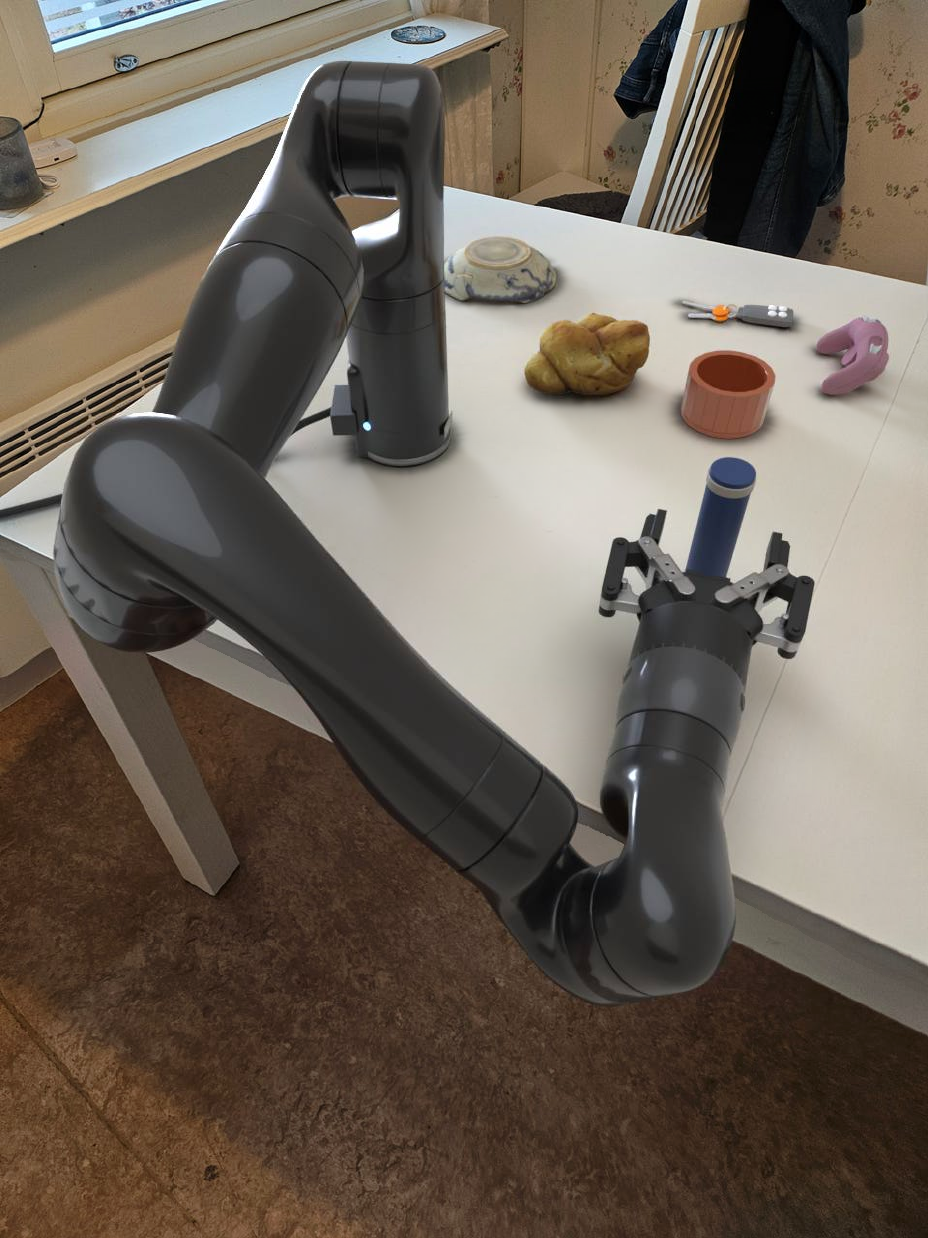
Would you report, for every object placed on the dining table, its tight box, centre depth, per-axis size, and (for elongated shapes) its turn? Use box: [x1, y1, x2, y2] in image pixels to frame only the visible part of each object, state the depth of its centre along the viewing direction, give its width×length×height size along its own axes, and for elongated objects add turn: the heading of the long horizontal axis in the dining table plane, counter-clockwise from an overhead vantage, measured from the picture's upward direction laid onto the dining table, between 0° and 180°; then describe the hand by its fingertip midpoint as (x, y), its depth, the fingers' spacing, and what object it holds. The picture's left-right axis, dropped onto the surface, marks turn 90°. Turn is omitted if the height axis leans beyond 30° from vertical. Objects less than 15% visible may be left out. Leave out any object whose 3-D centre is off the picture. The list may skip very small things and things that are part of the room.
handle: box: [684, 456, 757, 578], centre depth 67 cm, size 3×3×14 cm
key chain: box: [681, 300, 794, 328], centre depth 103 cm, size 13×4×2 cm, turn 76°
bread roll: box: [524, 312, 651, 396], centre depth 92 cm, size 13×10×8 cm
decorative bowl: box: [444, 236, 557, 304], centre depth 110 cm, size 15×4×15 cm
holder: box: [680, 349, 776, 440], centre depth 89 cm, size 8×8×5 cm
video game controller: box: [815, 314, 890, 396], centre depth 93 cm, size 10×5×7 cm, turn 169°
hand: (717, 529), depth 66 cm, fingers open, 8 cm apart
